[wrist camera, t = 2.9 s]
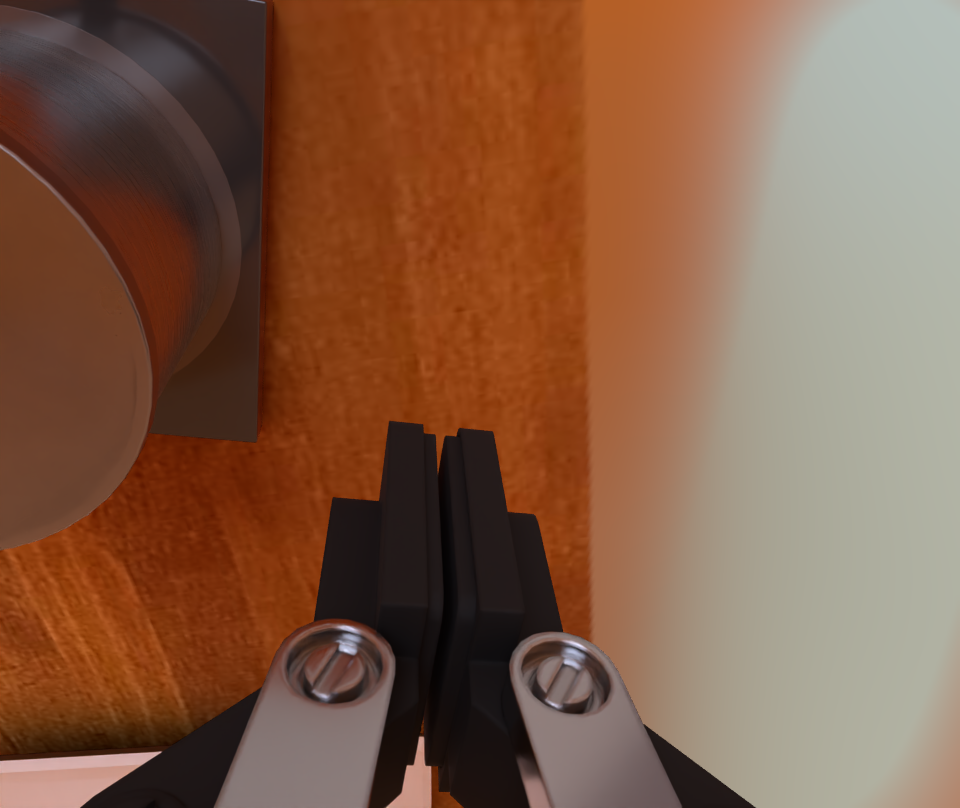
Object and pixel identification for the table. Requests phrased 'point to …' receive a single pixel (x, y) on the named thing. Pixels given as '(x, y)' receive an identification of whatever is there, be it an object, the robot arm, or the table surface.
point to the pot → (88, 279)
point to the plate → (82, 774)
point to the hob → (221, 158)
